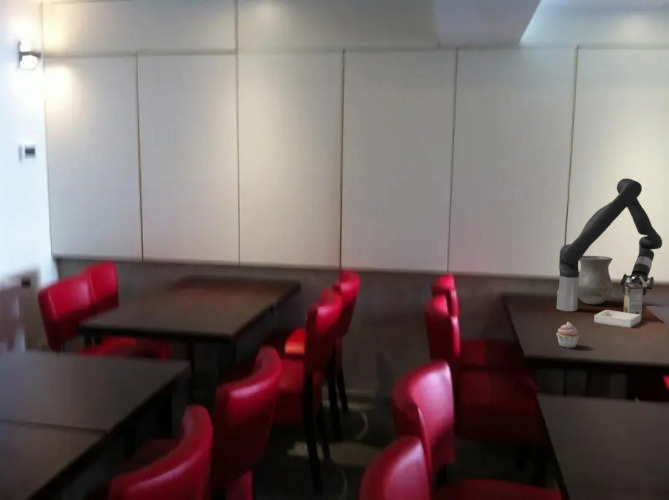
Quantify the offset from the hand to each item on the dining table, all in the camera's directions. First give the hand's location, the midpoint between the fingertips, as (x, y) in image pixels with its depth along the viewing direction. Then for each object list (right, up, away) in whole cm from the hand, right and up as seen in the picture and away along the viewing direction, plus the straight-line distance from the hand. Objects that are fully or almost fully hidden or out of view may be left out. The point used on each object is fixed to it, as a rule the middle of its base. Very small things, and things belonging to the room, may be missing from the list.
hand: (633, 293), depth 320 cm
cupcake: (-50, -18, -52) cm, 74 cm away
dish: (-12, -13, -9) cm, 19 cm away
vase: (-6, -8, +35) cm, 36 cm away
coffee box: (-1, -12, 0) cm, 12 cm away
